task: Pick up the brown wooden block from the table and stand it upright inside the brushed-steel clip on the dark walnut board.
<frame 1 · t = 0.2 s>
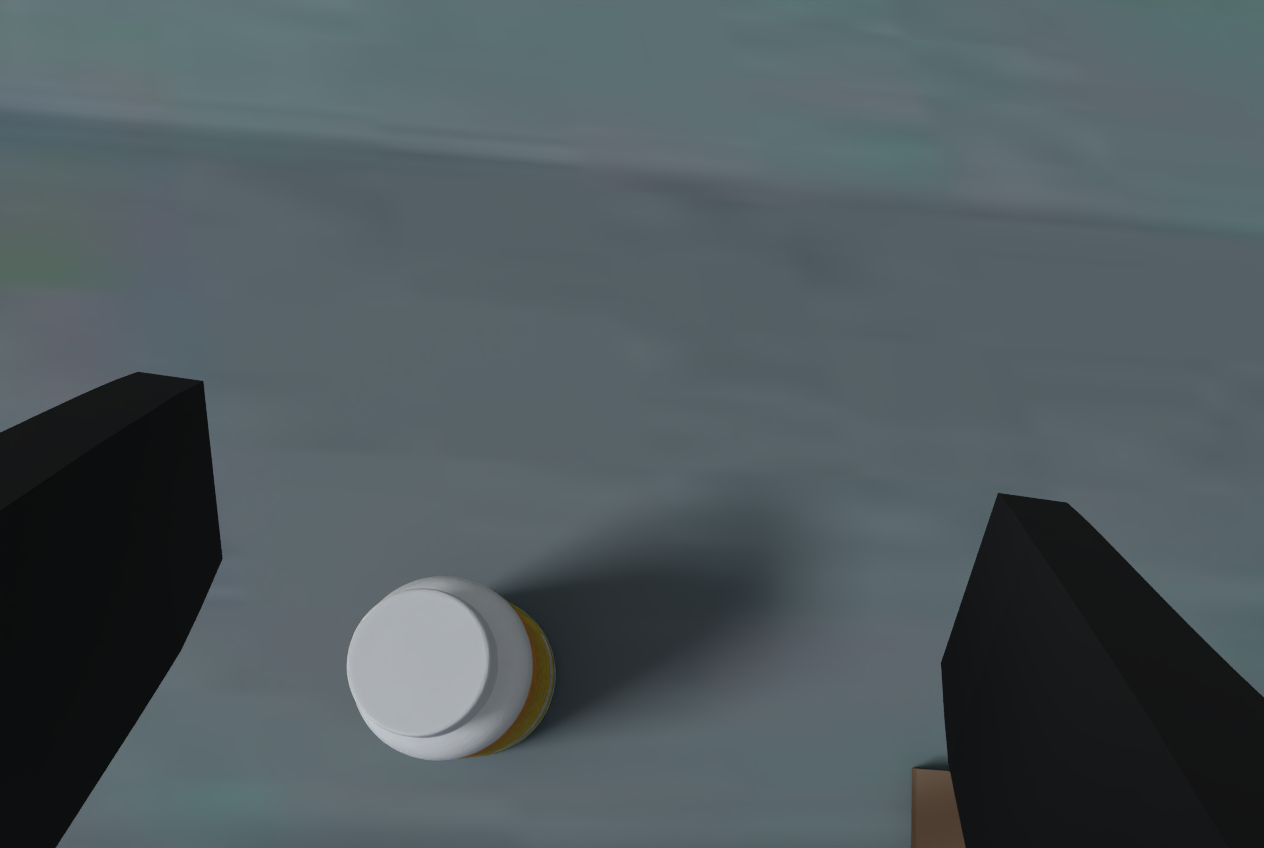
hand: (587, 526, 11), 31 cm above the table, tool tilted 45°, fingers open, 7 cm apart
supplement bottle: (482, 676, 41), on the table
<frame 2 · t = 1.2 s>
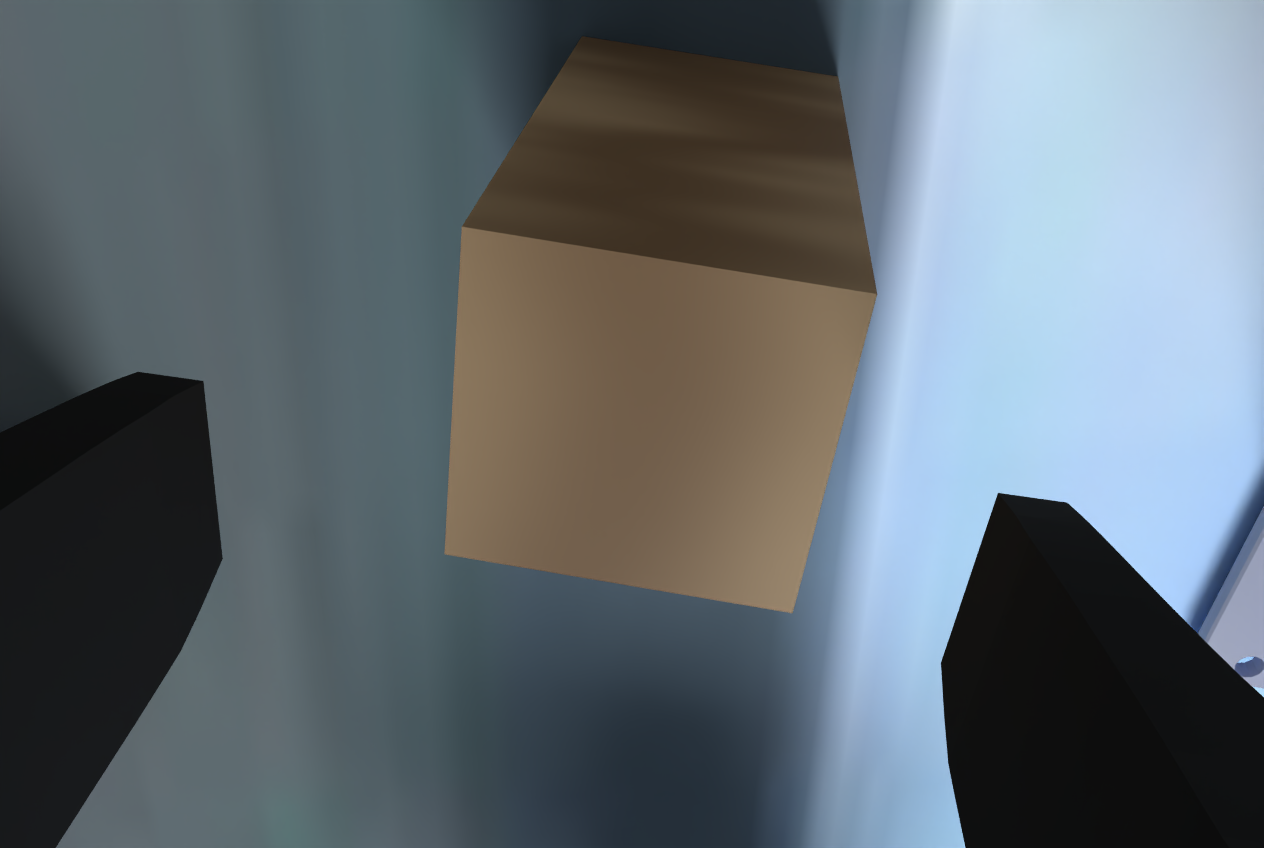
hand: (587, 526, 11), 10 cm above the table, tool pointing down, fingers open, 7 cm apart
brown wooden block: (689, 179, 19), on the table
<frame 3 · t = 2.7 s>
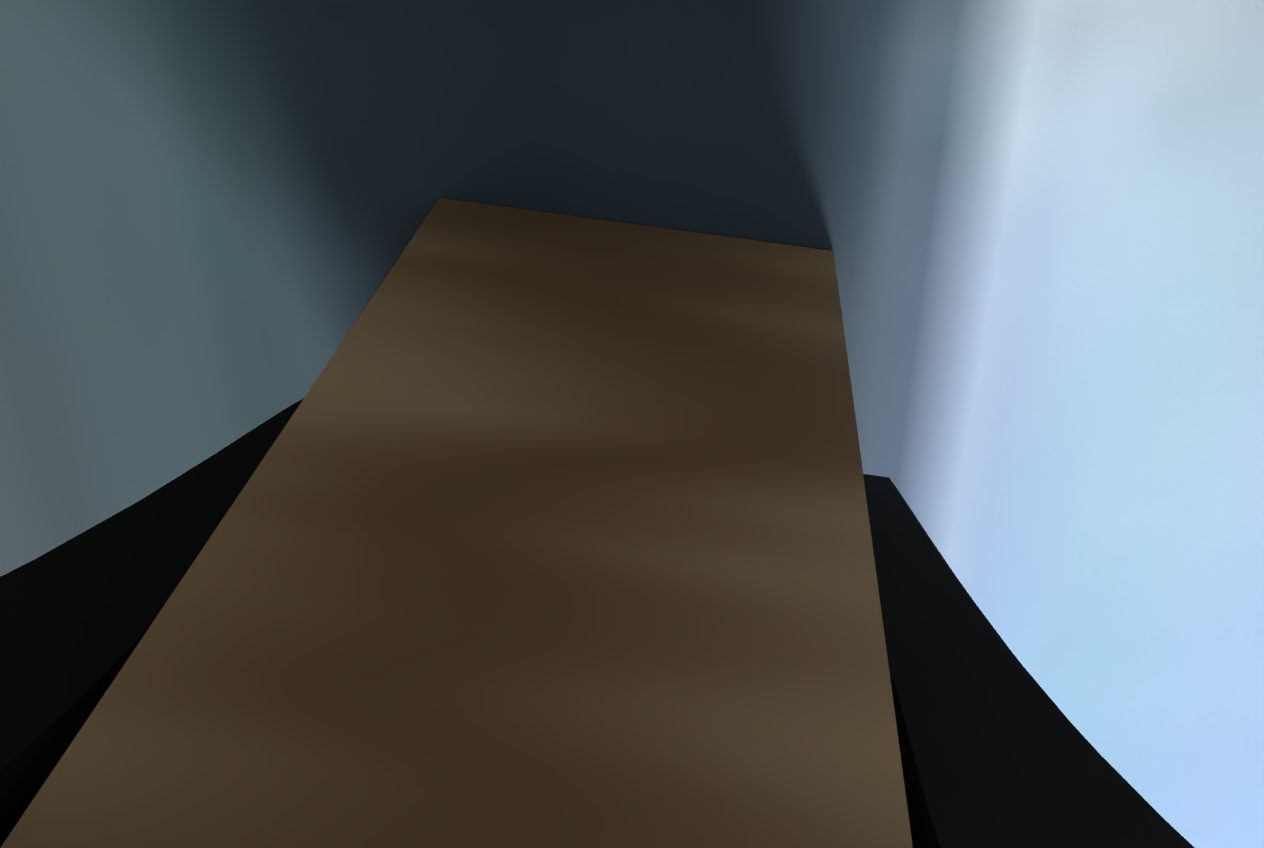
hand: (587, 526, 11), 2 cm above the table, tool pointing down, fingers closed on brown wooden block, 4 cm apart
brown wooden block: (616, 394, 13), on the table, touching gripper
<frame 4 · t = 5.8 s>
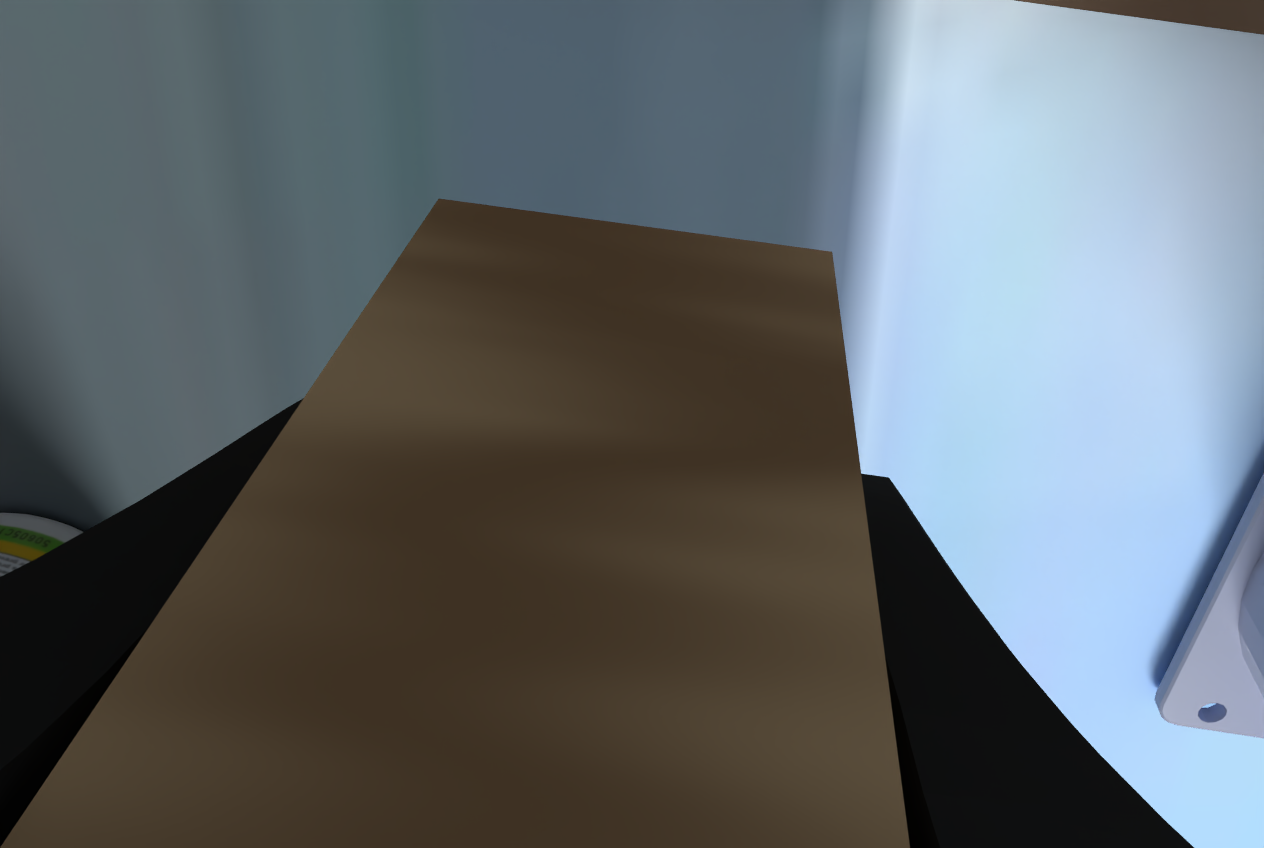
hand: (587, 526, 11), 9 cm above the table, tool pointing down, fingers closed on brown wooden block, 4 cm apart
brown wooden block: (615, 395, 13), point 7 cm above the table, touching gripper
supplement bottle: (56, 599, 25), on the table
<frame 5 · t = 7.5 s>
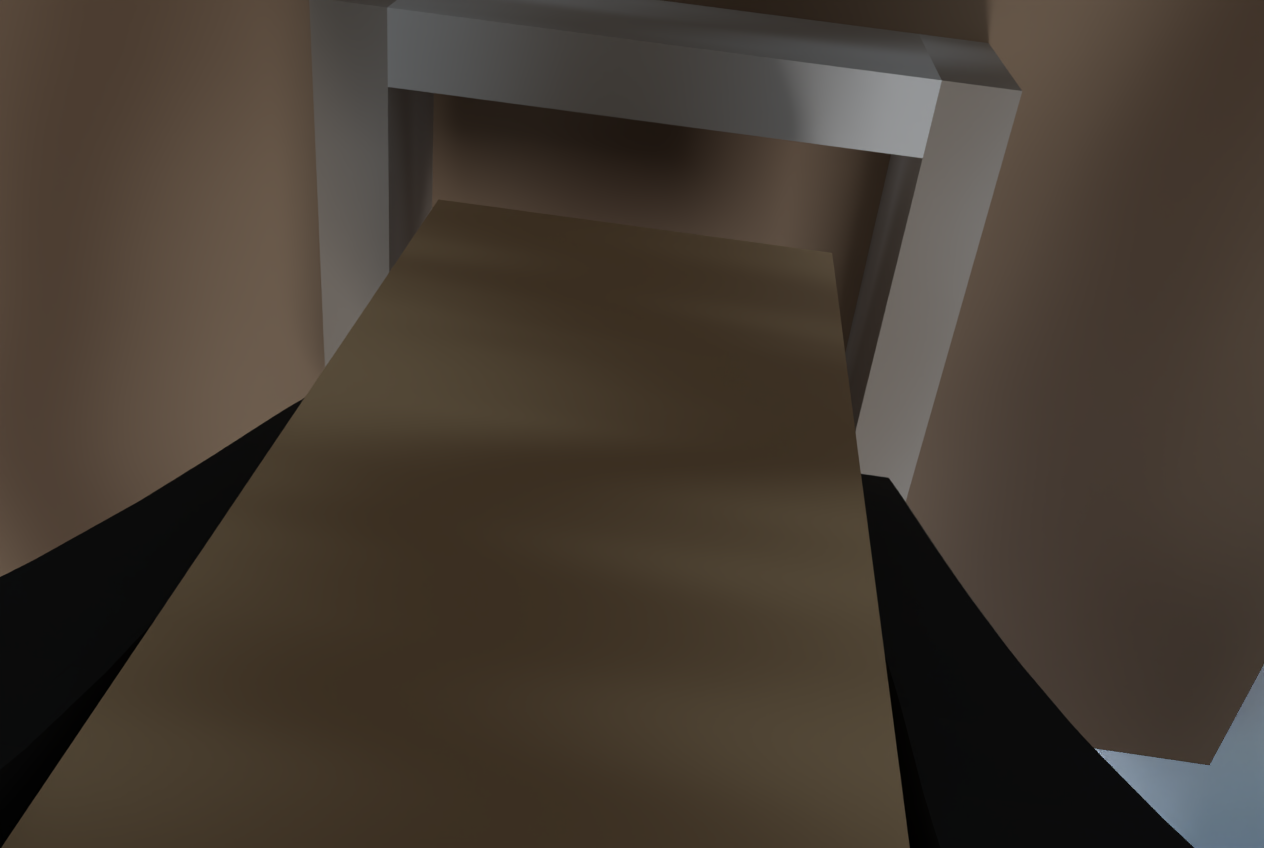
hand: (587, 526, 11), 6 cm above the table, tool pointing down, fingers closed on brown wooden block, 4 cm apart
brown wooden block: (615, 395, 13), point 4 cm above the table, touching gripper
holder board: (646, 262, 16), on the table
when the fingers open (4 cm above the table, at t = 8.8 s): brown wooden block stays where it is, resting on holder board.
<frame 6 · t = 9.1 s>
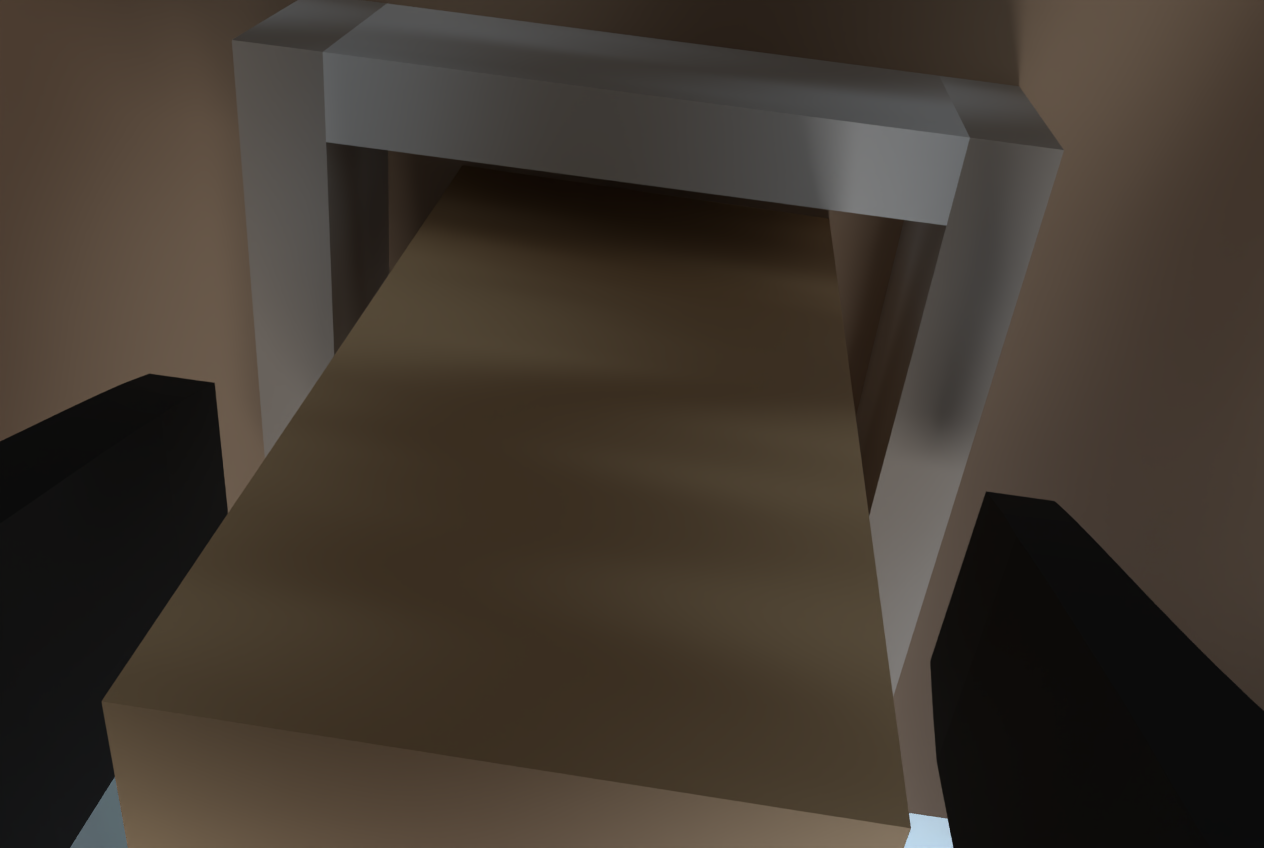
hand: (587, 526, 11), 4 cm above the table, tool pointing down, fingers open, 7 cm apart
brown wooden block: (624, 353, 13), point 1 cm above the table, touching holder board
holder board: (631, 322, 14), on the table
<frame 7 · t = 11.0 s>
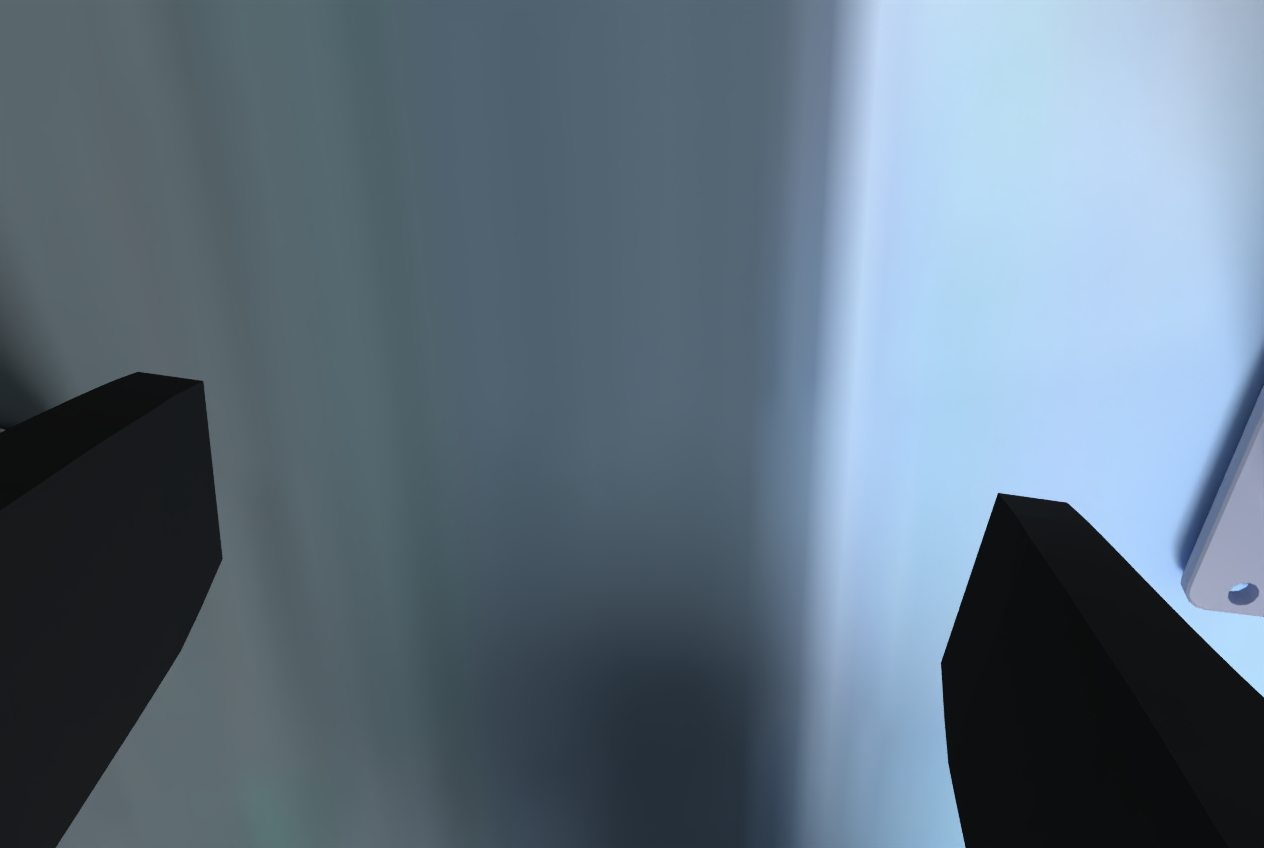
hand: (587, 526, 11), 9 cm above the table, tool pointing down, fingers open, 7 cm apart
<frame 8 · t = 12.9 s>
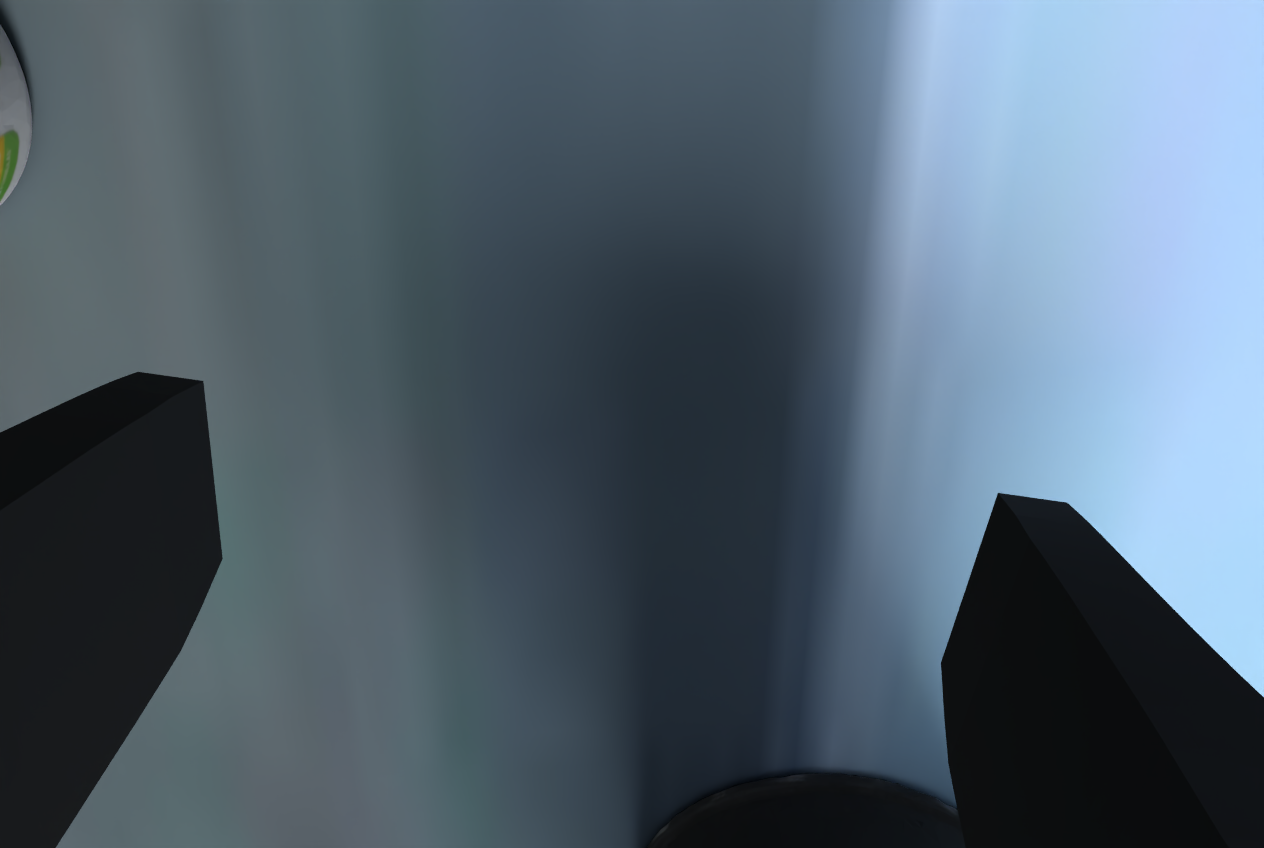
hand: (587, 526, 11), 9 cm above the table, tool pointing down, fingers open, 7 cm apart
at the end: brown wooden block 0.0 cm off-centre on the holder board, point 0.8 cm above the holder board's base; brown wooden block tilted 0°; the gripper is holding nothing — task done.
